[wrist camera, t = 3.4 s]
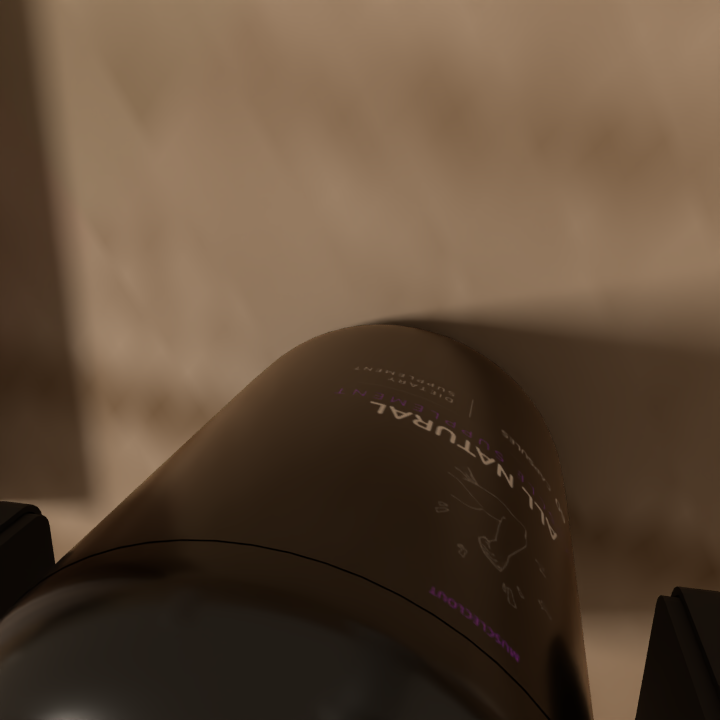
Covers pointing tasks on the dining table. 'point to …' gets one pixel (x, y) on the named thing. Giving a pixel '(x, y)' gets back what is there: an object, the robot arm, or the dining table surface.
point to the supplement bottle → (324, 558)
